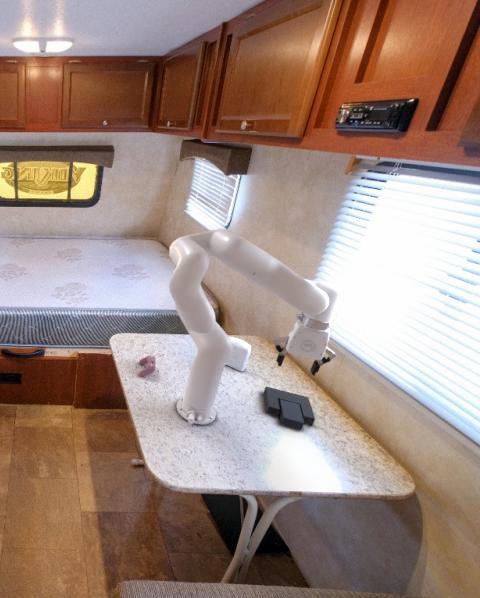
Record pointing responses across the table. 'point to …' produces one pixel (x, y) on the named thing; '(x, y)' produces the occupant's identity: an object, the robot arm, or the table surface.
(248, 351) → the photo printer
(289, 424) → the pad
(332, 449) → the table surface
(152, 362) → the video game controller
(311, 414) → the base pad
